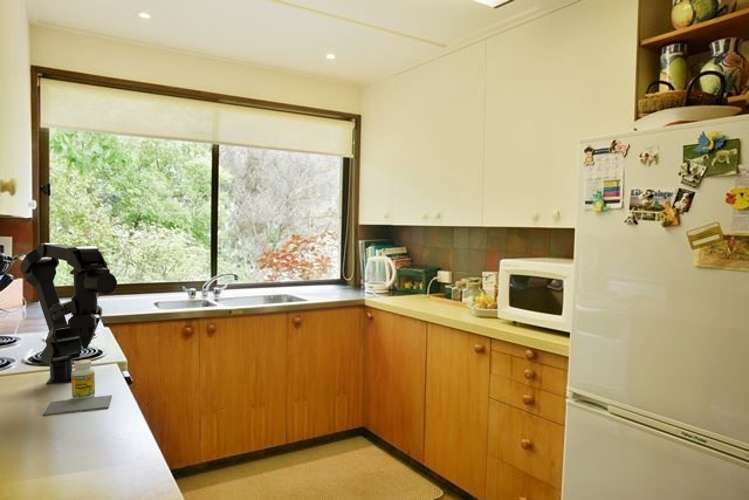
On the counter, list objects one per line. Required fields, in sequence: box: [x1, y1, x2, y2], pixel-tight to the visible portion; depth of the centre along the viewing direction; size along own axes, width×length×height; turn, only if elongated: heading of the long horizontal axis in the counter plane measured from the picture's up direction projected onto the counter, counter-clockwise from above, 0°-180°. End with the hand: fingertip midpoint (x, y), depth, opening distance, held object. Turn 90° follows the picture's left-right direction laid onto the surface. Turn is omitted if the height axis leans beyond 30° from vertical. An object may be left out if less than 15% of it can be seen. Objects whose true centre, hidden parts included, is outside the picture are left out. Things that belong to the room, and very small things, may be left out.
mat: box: [42, 394, 113, 417], centre depth 129 cm, size 9×14×1 cm, turn 113°
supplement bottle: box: [71, 359, 96, 399], centre depth 135 cm, size 5×5×10 cm
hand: (86, 346), depth 142 cm, fingers open, 5 cm apart
